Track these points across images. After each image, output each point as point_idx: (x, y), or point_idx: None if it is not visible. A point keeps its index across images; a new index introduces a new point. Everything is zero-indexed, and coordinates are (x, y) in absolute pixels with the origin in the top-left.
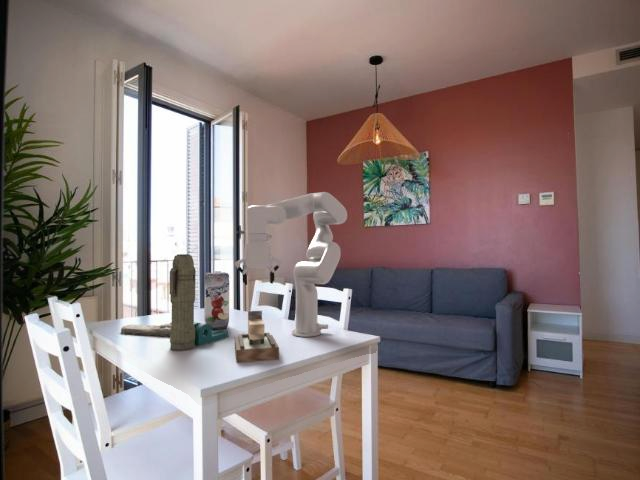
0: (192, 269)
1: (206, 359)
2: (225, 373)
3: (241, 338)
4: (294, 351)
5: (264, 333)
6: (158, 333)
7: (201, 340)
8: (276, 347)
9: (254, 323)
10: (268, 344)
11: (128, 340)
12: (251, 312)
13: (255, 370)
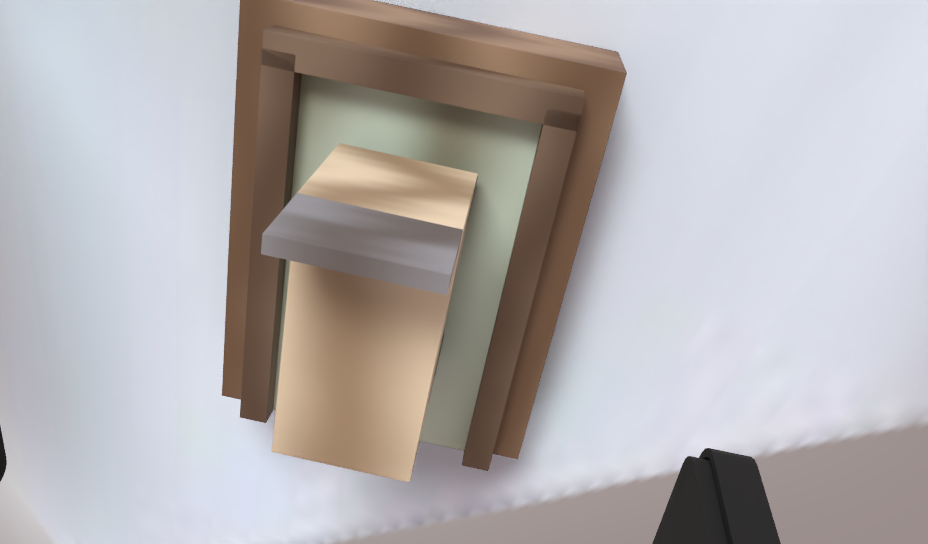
0: None
1: (61, 205)
2: (181, 478)
3: (272, 210)
4: (703, 302)
5: (526, 119)
6: None
7: None
8: (500, 454)
9: (326, 416)
10: (466, 382)
11: None
12: (310, 256)
13: (335, 505)
